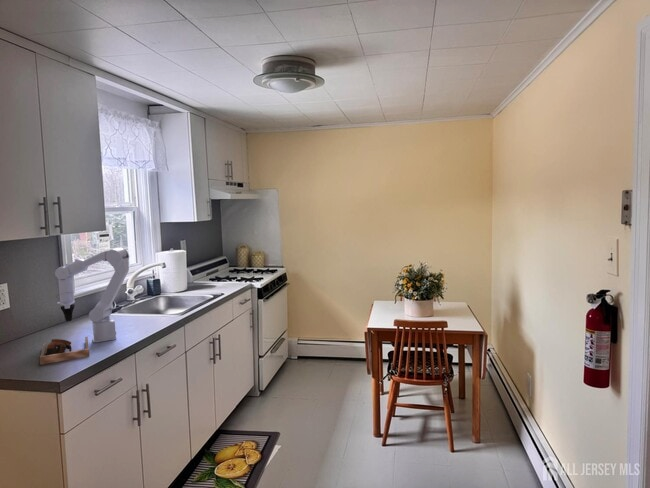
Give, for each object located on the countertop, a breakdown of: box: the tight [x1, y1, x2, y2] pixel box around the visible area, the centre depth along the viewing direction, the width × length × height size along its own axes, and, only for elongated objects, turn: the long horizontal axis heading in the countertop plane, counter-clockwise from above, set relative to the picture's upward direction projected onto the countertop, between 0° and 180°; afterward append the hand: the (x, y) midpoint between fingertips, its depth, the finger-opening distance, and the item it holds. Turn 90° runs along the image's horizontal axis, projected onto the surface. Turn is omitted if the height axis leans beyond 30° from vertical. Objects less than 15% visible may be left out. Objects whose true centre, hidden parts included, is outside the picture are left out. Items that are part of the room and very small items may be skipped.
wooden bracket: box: [39, 336, 90, 365], centre depth 185 cm, size 17×23×3 cm
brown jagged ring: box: [45, 338, 73, 356], centre depth 180 cm, size 12×10×8 cm
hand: (68, 320), depth 201 cm, fingers closed
